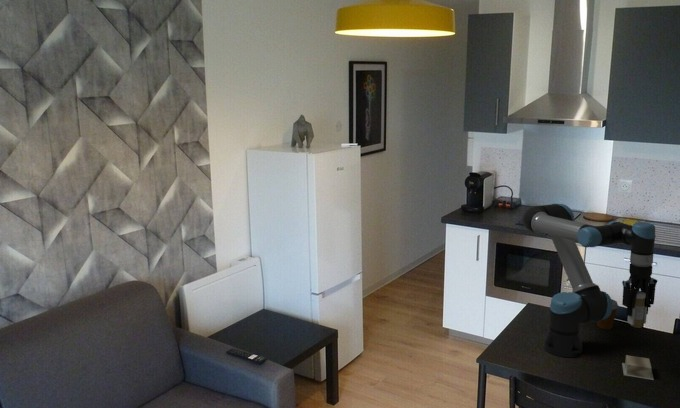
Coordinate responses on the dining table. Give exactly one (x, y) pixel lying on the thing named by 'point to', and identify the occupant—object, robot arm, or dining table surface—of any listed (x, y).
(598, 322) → the disposable coffee cup
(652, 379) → the plate
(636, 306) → the sprinkles bottle
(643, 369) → the beech block
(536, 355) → the dining table surface
